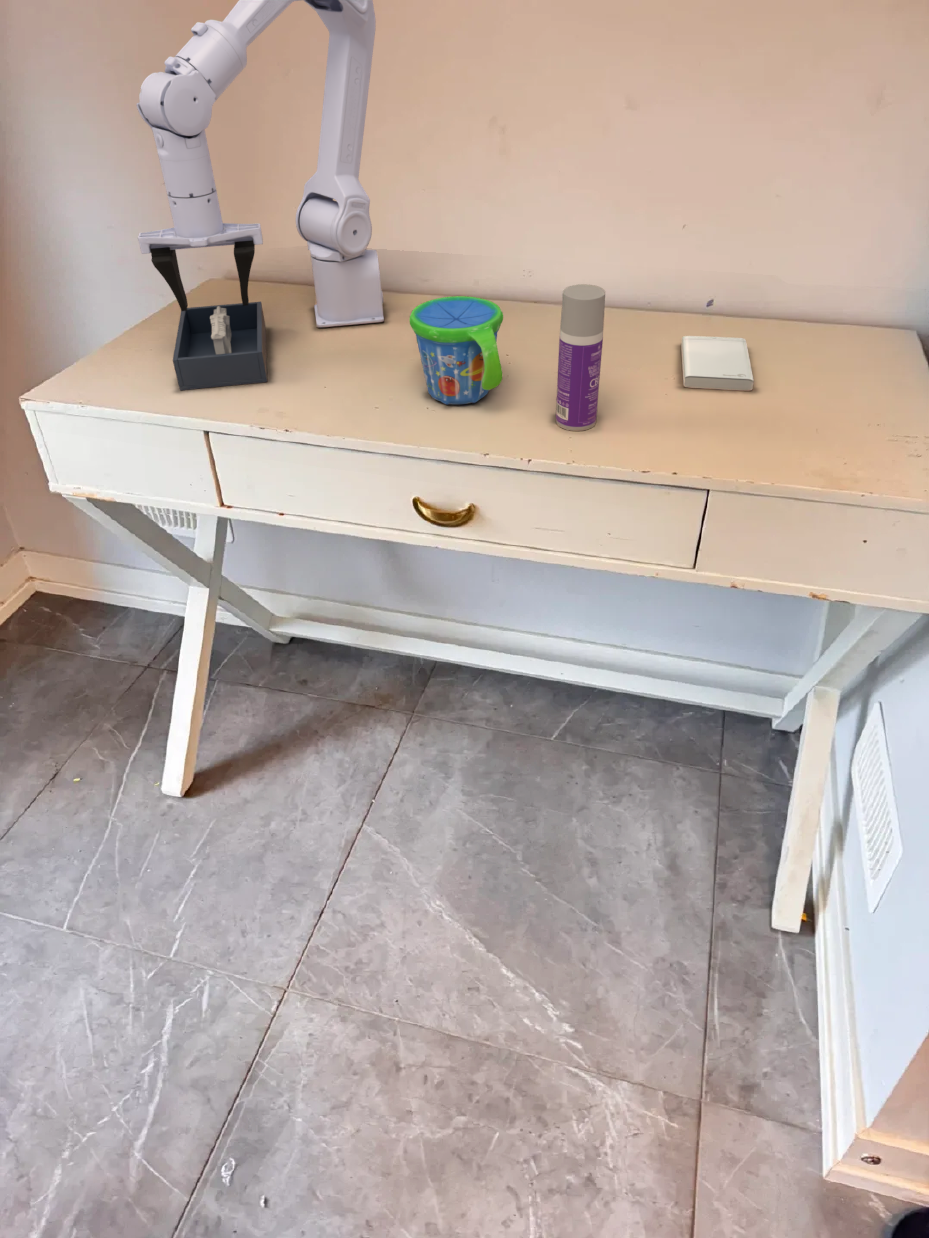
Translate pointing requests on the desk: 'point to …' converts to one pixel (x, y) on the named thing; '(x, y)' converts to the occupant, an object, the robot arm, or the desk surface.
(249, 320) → the tote
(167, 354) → the desk surface
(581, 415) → the container
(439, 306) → the snack cup
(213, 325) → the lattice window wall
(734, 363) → the hard drive
